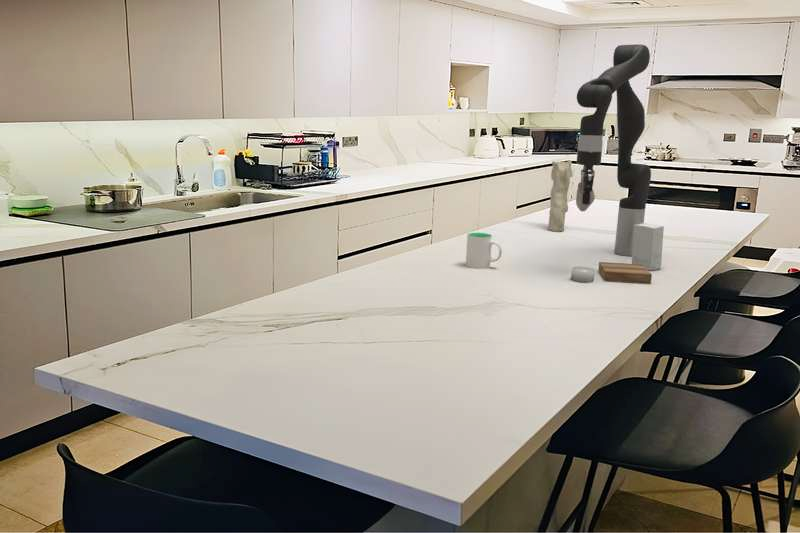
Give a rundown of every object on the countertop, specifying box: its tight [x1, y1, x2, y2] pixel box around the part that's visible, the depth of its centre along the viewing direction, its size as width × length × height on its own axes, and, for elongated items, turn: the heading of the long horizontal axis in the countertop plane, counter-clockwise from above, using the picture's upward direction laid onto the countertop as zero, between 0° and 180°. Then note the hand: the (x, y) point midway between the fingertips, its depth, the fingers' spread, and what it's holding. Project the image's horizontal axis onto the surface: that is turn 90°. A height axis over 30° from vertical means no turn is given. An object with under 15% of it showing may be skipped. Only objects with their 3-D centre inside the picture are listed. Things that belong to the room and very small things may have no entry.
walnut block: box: [597, 261, 653, 285], centre depth 237 cm, size 14×14×3 cm
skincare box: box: [631, 223, 665, 271], centre depth 250 cm, size 8×6×15 cm
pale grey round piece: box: [570, 266, 596, 284], centre depth 231 cm, size 7×7×4 cm
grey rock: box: [575, 181, 596, 212], centre depth 237 cm, size 6×4×10 cm, turn 70°
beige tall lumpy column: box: [547, 159, 573, 233], centre depth 311 cm, size 9×8×30 cm
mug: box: [465, 232, 503, 269], centre depth 244 cm, size 12×8×10 cm, turn 65°
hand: (585, 203), depth 238 cm, fingers closed on grey rock, 3 cm apart
